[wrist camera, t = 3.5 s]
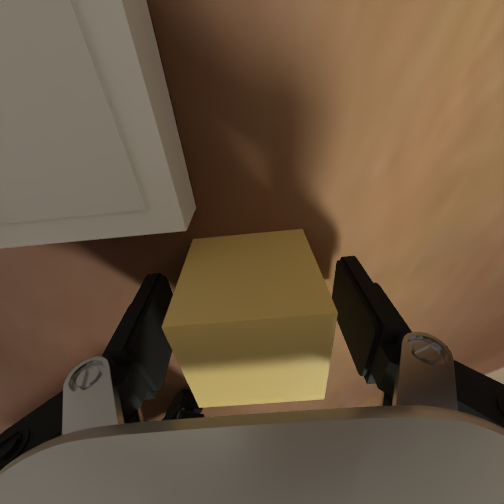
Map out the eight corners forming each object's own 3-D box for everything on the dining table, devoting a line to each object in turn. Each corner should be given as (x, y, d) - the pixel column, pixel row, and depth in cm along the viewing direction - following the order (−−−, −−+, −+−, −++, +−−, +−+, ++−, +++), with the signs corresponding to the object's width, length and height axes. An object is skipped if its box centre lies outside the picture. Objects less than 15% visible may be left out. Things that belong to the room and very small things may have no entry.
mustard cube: (300, 305, 14) (323, 398, 9) (213, 312, 14) (199, 407, 10) (302, 227, 11) (338, 313, 7) (193, 238, 11) (161, 327, 7)
